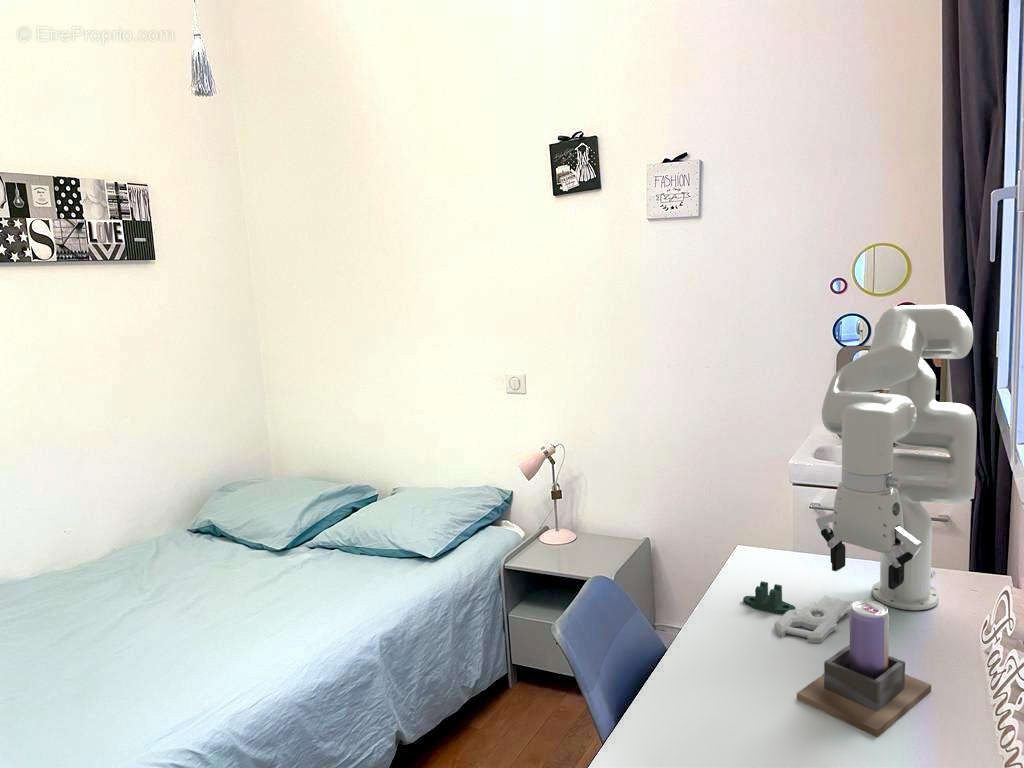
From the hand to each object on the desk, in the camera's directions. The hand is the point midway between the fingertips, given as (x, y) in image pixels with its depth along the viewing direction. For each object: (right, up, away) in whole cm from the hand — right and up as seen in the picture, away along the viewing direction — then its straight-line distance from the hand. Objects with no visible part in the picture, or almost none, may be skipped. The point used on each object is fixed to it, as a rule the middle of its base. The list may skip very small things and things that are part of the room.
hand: (866, 577), depth 128 cm
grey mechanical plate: (+2, -17, +28) cm, 33 cm away
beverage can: (+2, -20, +3) cm, 20 cm away
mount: (-4, -16, +36) cm, 40 cm away
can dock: (+1, -21, +4) cm, 21 cm away
